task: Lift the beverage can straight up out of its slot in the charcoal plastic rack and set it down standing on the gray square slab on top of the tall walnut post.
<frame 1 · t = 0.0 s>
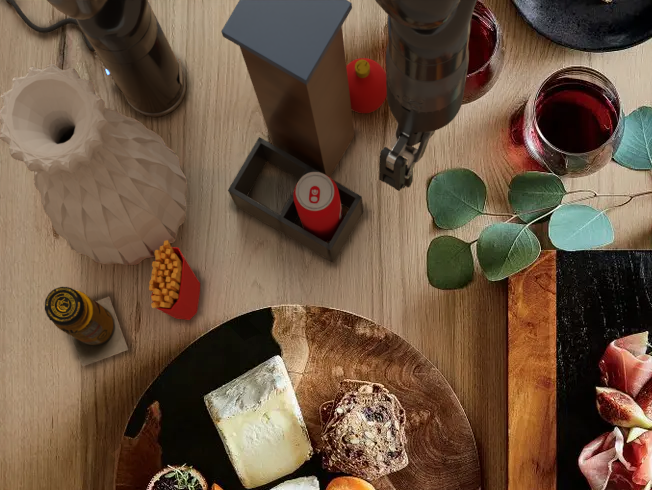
hand: (421, 148, 92), 29 cm above the table, tool pointing down, fingers open, 8 cm apart
christmas ornament: (364, 99, 122), on the table
vase: (134, 214, 123), on the table
beverage can: (323, 223, 122), resting in rack
condiment: (96, 332, 123), on the table
gray square slab: (287, 22, 92), resting on post
french fries: (185, 298, 122), on the table
post: (314, 143, 122), on the table
rack: (299, 209, 122), on the table
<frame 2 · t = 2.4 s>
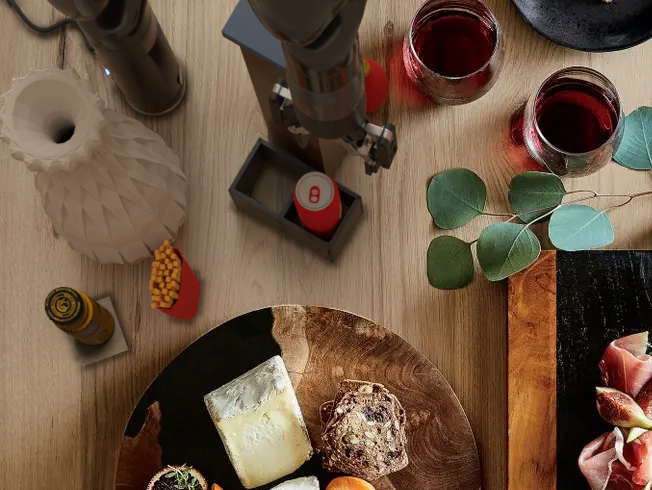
hand: (338, 154, 97), 25 cm above the table, tool pointing down, fingers open, 8 cm apart
nothing on the table moved.
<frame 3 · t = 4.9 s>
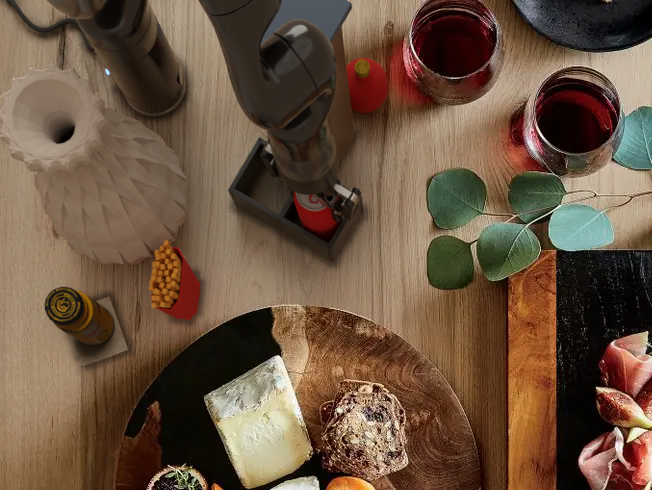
hand: (318, 202, 114), 8 cm above the table, tool pointing down, fingers closed on beverage can, 6 cm apart
beverage can: (323, 223, 122), resting in rack, touching gripper
everything else where it was.
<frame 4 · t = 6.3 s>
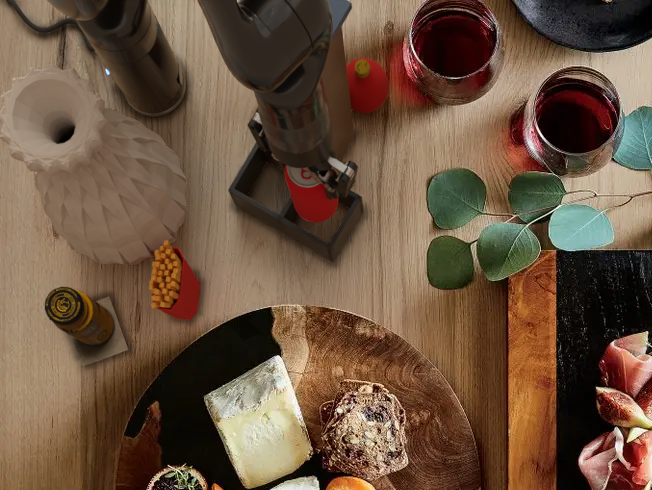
hand: (310, 179, 106), 16 cm above the table, tool pointing down, fingers closed on beverage can, 6 cm apart
beverage can: (316, 202, 114), point 8 cm above the table, touching gripper
everything else where it was.
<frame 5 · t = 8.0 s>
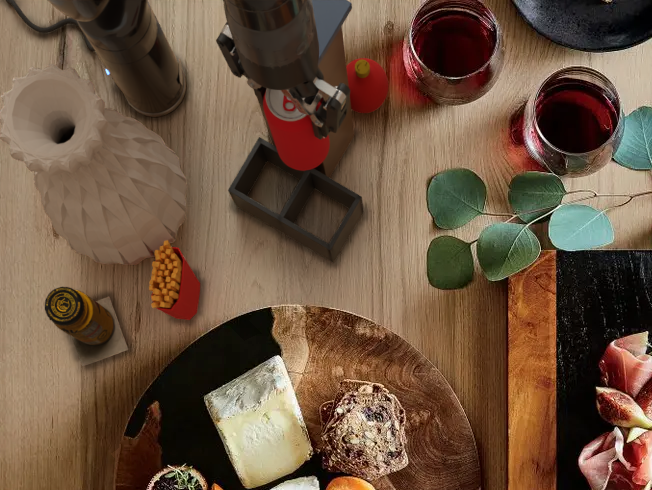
hand: (295, 114, 89), 33 cm above the table, tool pointing down, fingers closed on beverage can, 6 cm apart
beverage can: (303, 147, 97), point 25 cm above the table, touching gripper
everything else where it was.
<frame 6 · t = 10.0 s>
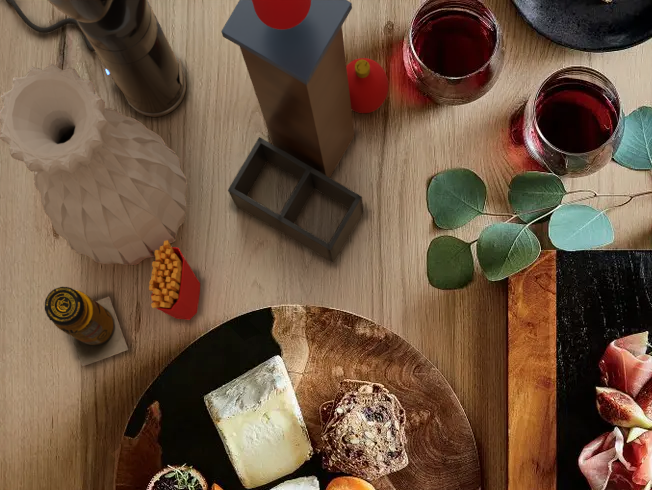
beverage can: (283, 6, 89), point 33 cm above the table, touching gripper
everything else where it was.
when the fingers open (39 cm above the table, at t = 11.3 s): beverage can stays where it is, resting on gray square slab.
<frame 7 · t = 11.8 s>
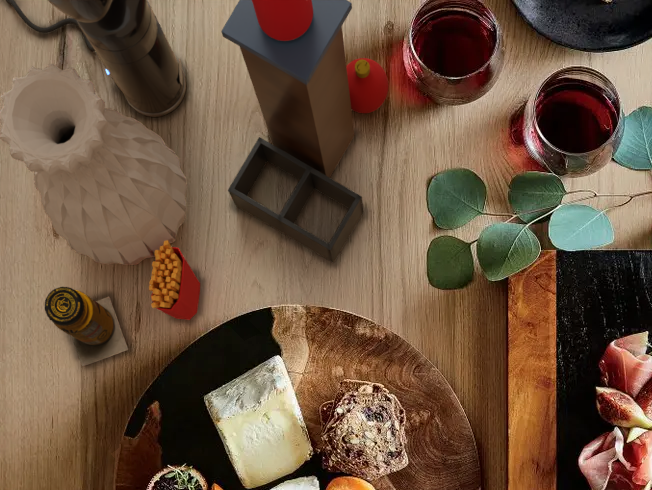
beverage can: (285, 18, 91), point 31 cm above the table, touching gray square slab
everything else where it was.
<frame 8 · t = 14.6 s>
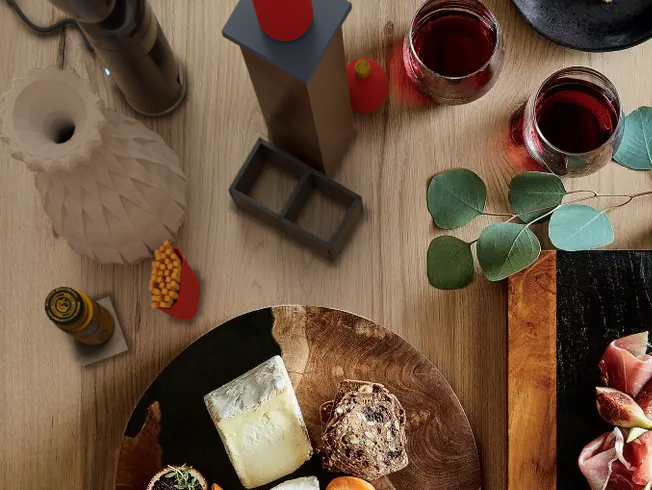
nothing on the table moved.
at the end: beverage can inside the target area on the gray square slab (0.1 cm from its centre), point 0.8 cm above the gray square slab's base; beverage can tilted 0°; the gripper is holding nothing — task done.
